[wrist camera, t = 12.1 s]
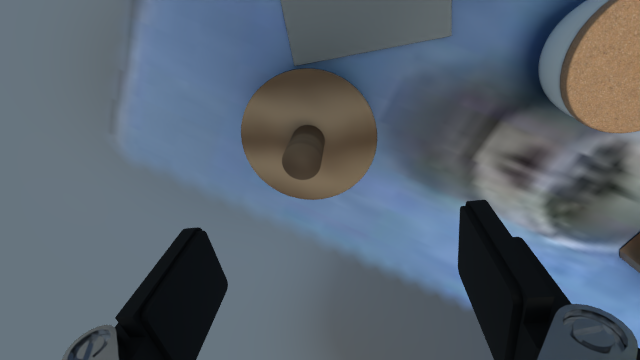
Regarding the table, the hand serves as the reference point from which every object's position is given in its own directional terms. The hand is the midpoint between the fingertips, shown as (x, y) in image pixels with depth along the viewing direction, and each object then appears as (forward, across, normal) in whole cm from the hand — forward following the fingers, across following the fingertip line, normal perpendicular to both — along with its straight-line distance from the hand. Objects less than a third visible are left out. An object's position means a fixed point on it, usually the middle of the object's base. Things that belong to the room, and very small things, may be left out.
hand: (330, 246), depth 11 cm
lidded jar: (+24, -22, 0) cm, 33 cm away
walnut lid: (+20, +4, +3) cm, 20 cm away
